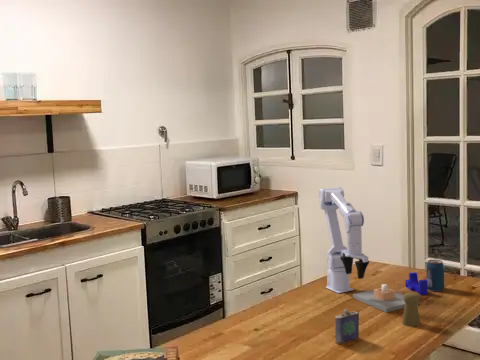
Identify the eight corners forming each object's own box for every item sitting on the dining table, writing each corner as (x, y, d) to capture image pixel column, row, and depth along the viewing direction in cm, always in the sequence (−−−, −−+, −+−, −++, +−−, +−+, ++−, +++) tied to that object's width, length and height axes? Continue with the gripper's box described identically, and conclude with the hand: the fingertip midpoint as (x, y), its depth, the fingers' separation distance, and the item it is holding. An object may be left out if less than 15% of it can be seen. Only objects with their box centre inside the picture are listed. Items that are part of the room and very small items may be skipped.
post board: (352, 297, 226) (352, 282, 225) (383, 290, 233) (383, 275, 232) (386, 312, 208) (386, 295, 207) (418, 304, 215) (418, 288, 214)
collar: (373, 296, 221) (373, 289, 221) (384, 294, 224) (384, 287, 223) (383, 300, 216) (383, 293, 216) (394, 298, 219) (394, 290, 218)
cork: (411, 328, 192) (411, 297, 191) (398, 322, 198) (398, 292, 196) (423, 324, 195) (423, 294, 194) (411, 319, 200) (411, 289, 199)
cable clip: (405, 286, 238) (405, 273, 237) (415, 285, 238) (415, 272, 237) (416, 295, 226) (416, 281, 225) (427, 294, 226) (427, 280, 226)
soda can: (445, 288, 233) (445, 260, 232) (442, 292, 227) (442, 264, 226) (428, 285, 237) (428, 258, 236) (424, 290, 231) (424, 262, 230)
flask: (338, 344, 181) (337, 313, 180) (332, 341, 183) (332, 310, 182) (360, 338, 185) (360, 307, 184) (355, 336, 188) (354, 305, 186)
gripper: (334, 240, 223) (335, 273, 225) (357, 247, 210) (358, 282, 212) (349, 238, 226) (349, 270, 228) (372, 244, 213) (372, 279, 215)
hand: (354, 276), depth 220 cm, fingers open, 7 cm apart
